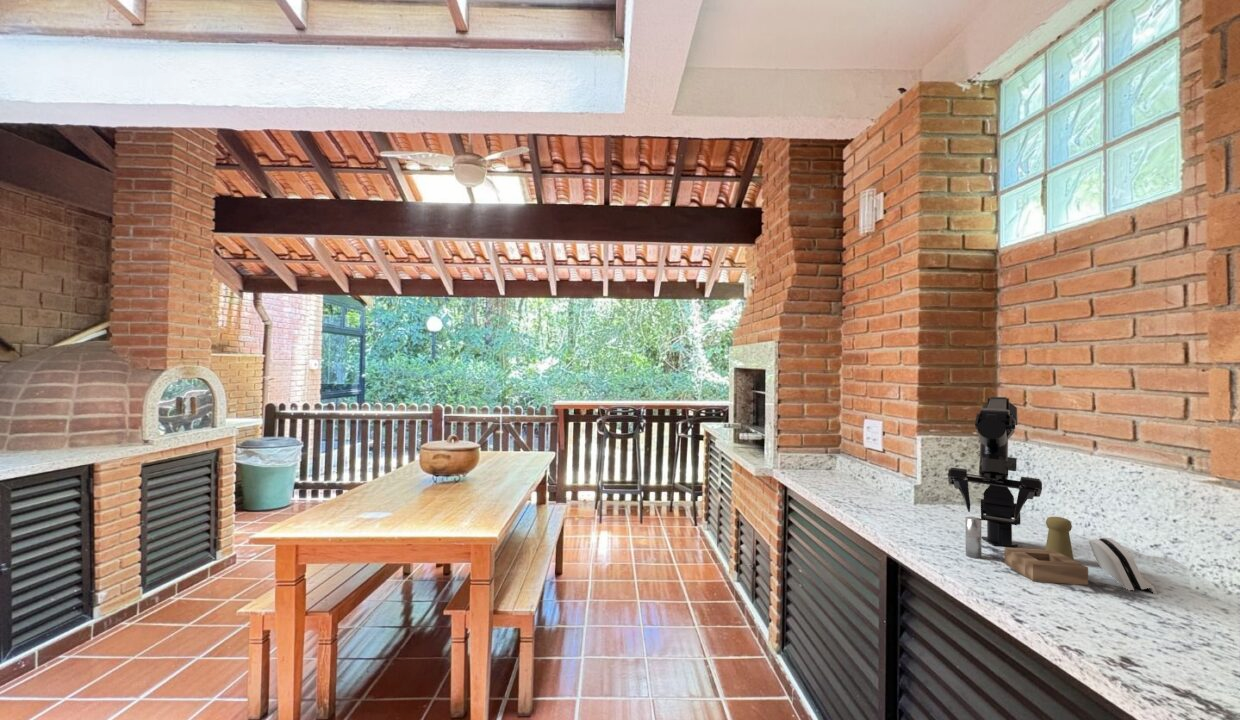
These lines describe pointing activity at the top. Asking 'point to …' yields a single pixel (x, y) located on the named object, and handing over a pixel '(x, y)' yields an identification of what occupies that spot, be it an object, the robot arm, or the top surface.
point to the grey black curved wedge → (1118, 563)
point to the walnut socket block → (1046, 566)
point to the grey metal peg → (973, 537)
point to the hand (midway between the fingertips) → (991, 515)
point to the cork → (1059, 536)
